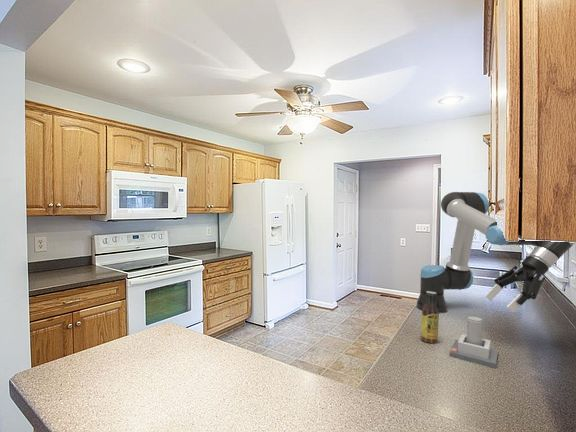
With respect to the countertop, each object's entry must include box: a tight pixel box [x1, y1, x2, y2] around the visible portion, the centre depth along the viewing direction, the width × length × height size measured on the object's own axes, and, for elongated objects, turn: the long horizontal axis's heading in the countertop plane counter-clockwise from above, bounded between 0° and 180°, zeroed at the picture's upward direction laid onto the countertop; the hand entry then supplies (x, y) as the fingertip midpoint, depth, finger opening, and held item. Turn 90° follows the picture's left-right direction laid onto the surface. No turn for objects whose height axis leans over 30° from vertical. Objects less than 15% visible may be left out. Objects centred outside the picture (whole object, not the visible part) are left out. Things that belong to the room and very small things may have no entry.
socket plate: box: [449, 334, 499, 369], centre depth 114 cm, size 14×14×5 cm
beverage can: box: [466, 315, 484, 346], centre depth 114 cm, size 5×5×12 cm
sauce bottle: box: [420, 291, 440, 344], centre depth 126 cm, size 7×6×20 cm
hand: (498, 303), depth 116 cm, fingers open, 13 cm apart
